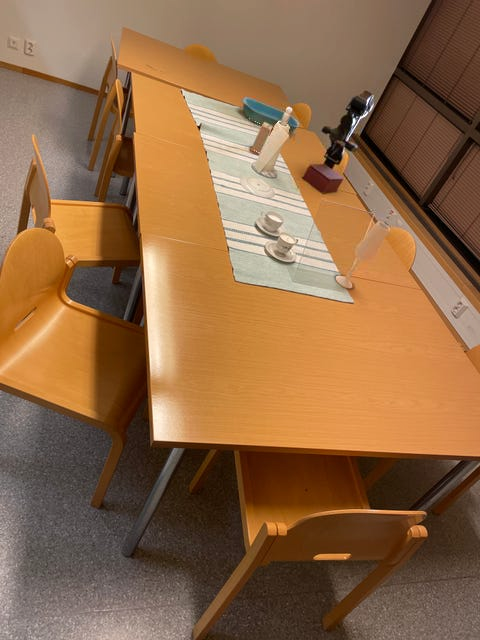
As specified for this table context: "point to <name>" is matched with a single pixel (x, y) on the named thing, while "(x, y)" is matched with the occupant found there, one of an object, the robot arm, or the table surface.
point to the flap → (331, 171)
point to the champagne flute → (366, 249)
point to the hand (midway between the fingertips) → (330, 155)
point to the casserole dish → (265, 114)
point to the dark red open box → (321, 179)
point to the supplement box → (261, 137)
